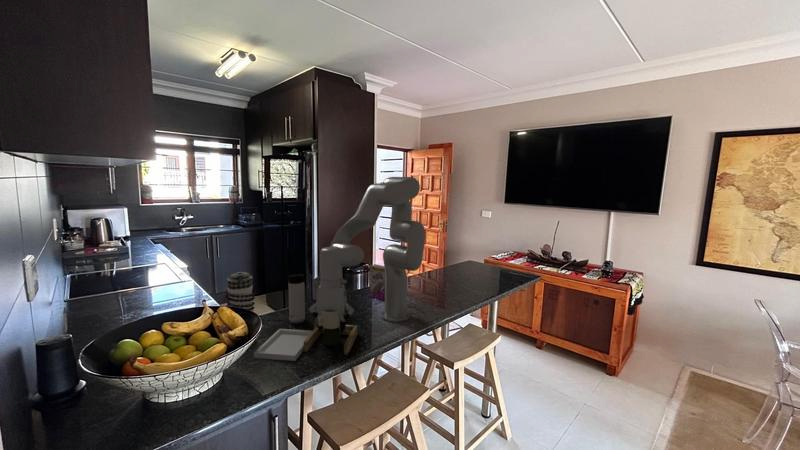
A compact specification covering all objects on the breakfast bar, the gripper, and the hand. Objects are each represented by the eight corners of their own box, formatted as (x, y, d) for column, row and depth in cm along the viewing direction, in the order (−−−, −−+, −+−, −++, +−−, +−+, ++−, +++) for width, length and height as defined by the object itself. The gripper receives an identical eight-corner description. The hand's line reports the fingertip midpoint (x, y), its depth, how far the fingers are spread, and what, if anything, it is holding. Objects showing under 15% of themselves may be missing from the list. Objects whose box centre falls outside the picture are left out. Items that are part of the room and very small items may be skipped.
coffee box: (326, 317, 140) (326, 280, 138) (312, 315, 141) (311, 279, 139) (334, 309, 148) (334, 275, 147) (321, 308, 150) (321, 273, 148)
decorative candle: (228, 338, 119) (225, 271, 116) (256, 333, 123) (253, 269, 120) (226, 349, 111) (223, 278, 108) (256, 344, 115) (254, 275, 112)
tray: (315, 335, 123) (315, 330, 122) (295, 360, 105) (295, 355, 105) (279, 333, 124) (279, 328, 124) (253, 357, 106) (253, 352, 106)
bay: (357, 334, 124) (357, 325, 124) (347, 354, 109) (347, 344, 109) (319, 331, 126) (318, 323, 125) (303, 351, 111) (303, 341, 110)
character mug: (338, 335, 123) (338, 302, 122) (350, 341, 118) (350, 307, 117) (313, 344, 115) (312, 309, 114) (324, 352, 111) (324, 315, 109)
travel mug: (290, 325, 131) (289, 276, 129) (288, 319, 137) (287, 272, 135) (306, 322, 134) (305, 275, 132) (303, 316, 140) (302, 271, 137)
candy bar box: (368, 297, 165) (368, 265, 163) (374, 294, 169) (374, 263, 167) (386, 301, 159) (387, 269, 157) (392, 299, 164) (393, 267, 162)
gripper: (358, 280, 117) (357, 327, 119) (311, 278, 119) (311, 324, 121) (353, 286, 110) (353, 336, 112) (303, 284, 111) (304, 333, 113)
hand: (331, 330), depth 116 cm, fingers closed on character mug, 7 cm apart
